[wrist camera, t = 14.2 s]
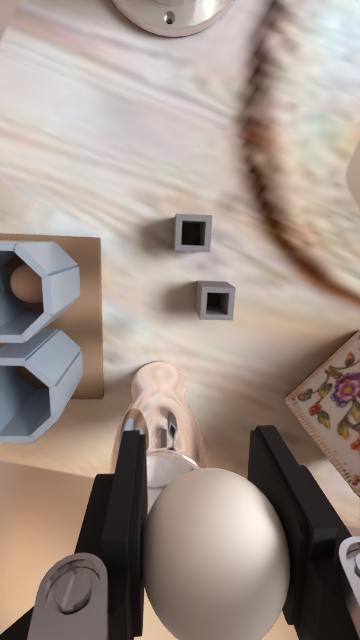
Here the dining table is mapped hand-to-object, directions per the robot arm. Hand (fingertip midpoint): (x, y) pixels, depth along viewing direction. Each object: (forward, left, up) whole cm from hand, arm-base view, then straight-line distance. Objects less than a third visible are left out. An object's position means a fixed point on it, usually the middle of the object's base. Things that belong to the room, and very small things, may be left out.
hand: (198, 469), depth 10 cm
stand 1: (-8, +1, -22) cm, 24 cm away
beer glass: (+8, -1, -23) cm, 24 cm away
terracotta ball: (-3, -13, -22) cm, 25 cm away
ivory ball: (0, 0, +1) cm, 1 cm away
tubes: (+1, -13, -22) cm, 26 cm away
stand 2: (-2, +4, -22) cm, 23 cm away
